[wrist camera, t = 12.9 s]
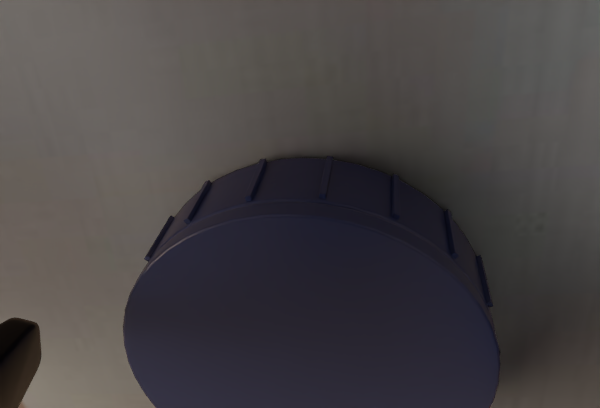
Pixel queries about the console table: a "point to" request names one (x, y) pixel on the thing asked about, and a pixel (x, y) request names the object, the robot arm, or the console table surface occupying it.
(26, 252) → the console table surface
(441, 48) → the console table surface
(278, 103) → the console table surface
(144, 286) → the jar lid
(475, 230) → the console table surface
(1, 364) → the robot arm
